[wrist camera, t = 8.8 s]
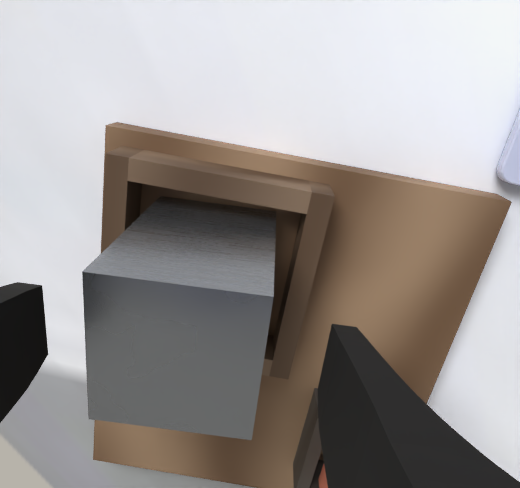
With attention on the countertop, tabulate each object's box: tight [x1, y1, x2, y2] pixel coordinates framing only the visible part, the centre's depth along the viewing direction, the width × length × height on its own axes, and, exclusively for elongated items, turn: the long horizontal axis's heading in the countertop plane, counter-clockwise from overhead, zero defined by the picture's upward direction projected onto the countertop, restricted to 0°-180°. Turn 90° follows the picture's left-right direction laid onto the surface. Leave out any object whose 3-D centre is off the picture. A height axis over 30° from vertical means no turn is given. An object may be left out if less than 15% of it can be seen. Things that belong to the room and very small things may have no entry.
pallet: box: [93, 122, 511, 488], centre depth 16 cm, size 14×15×3 cm
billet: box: [82, 196, 277, 440], centre depth 12 cm, size 4×4×6 cm
